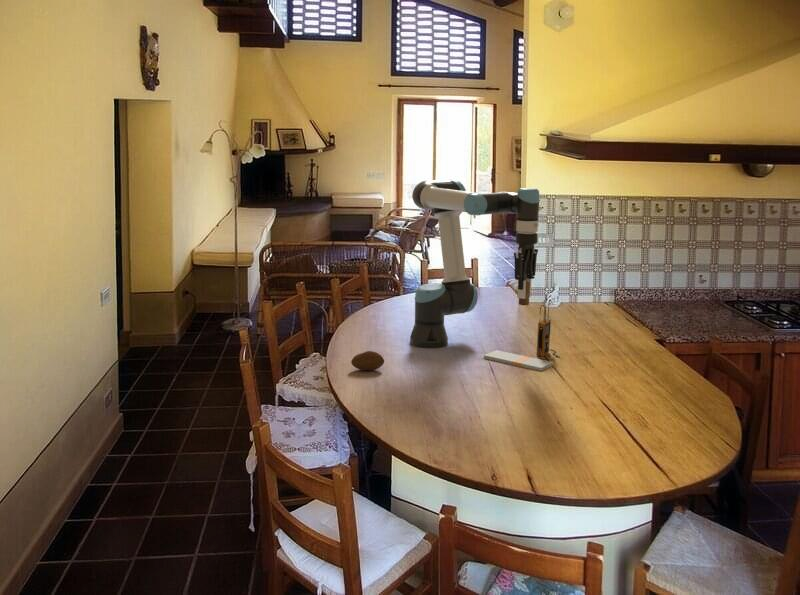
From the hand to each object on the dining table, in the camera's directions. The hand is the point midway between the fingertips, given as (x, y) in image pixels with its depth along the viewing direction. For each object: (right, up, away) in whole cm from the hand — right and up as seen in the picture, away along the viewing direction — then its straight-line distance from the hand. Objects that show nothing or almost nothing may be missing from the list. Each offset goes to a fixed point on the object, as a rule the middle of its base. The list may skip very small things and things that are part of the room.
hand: (524, 297), depth 278 cm
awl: (0, -2, +1) cm, 3 cm away
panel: (-1, -24, +7) cm, 25 cm away
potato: (-56, -26, -5) cm, 62 cm away
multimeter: (+13, -22, +16) cm, 31 cm away
